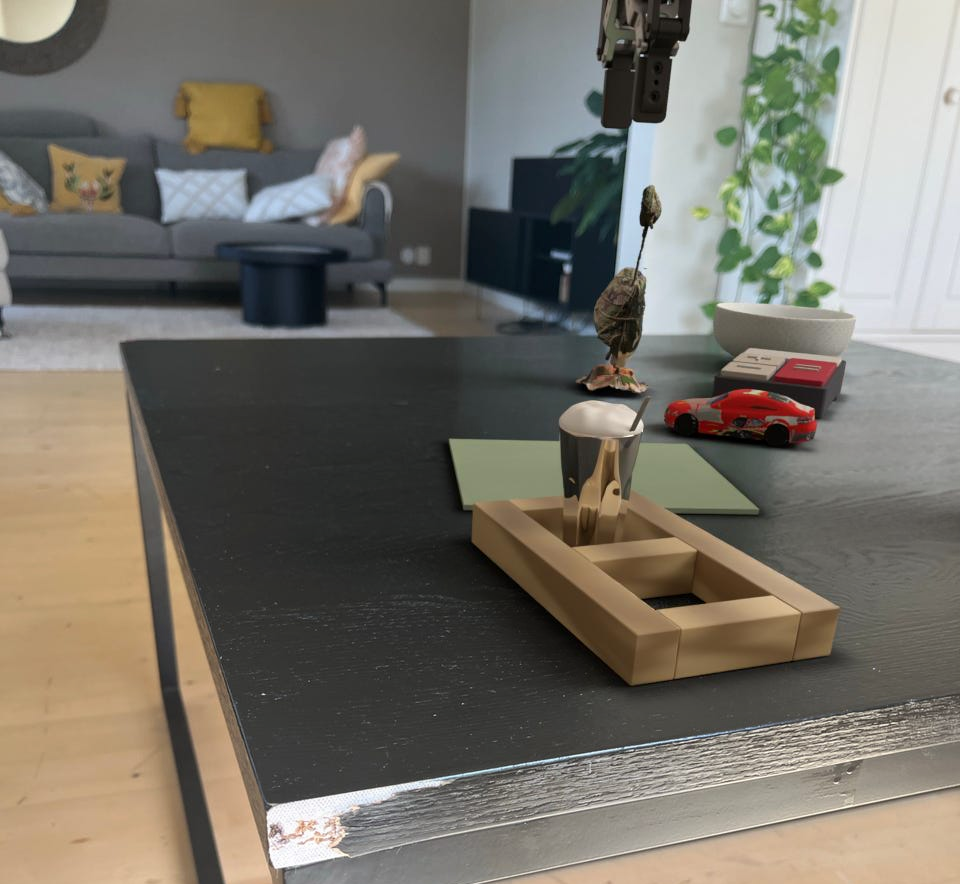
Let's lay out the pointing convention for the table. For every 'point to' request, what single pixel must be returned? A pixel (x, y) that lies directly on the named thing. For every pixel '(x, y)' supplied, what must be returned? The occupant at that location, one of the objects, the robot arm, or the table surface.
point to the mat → (536, 473)
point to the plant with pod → (623, 314)
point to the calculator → (785, 376)
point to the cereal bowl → (782, 328)
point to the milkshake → (597, 470)
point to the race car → (744, 417)
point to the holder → (655, 592)
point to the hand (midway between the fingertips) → (630, 125)
